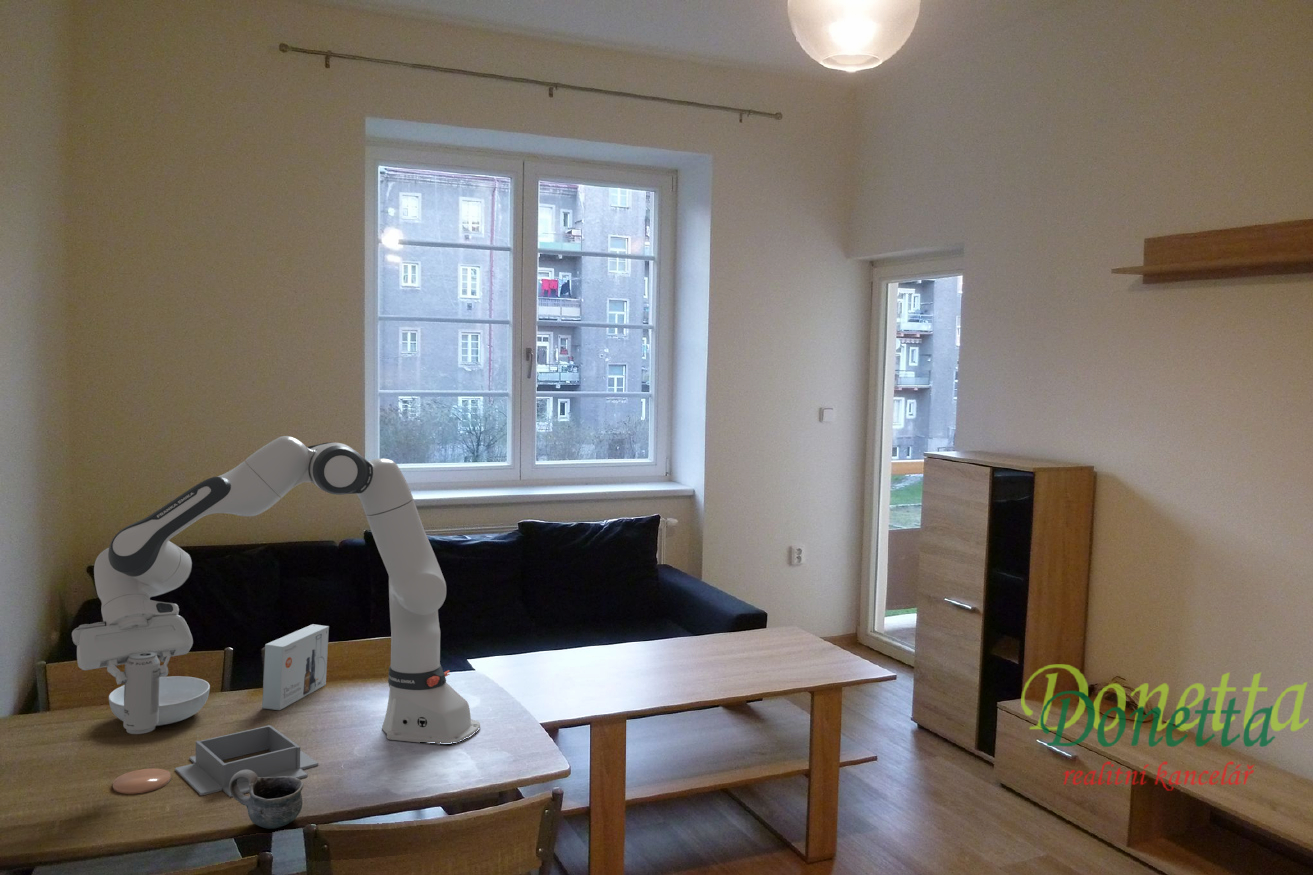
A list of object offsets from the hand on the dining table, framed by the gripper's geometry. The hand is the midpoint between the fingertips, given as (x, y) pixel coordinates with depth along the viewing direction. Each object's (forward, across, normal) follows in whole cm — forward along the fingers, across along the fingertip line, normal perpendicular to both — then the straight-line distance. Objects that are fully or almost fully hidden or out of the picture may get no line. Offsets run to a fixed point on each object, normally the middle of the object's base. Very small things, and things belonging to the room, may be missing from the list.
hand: (143, 678), depth 187 cm
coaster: (+14, 0, +15) cm, 21 cm away
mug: (+37, +12, -8) cm, 40 cm away
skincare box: (-7, +44, +37) cm, 58 cm away
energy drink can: (+7, 0, +8) cm, 10 cm away
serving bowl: (-10, +13, +40) cm, 43 cm away
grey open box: (+18, +18, +11) cm, 28 cm away
